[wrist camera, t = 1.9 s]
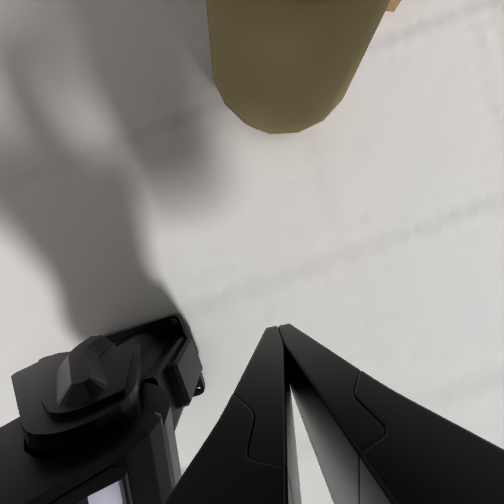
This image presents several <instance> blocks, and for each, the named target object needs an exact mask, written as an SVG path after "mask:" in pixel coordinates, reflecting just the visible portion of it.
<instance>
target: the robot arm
mask: <svg viewBox="0 0 504 504" xmlns="http://www.w3.org/2000/svg"><path fill="white" fill-rule="evenodd" d="M172 319H176V321H177V323H173V322H172ZM202 369H203V368H202V365H201V362H200V359H199V356H198V353H197V351H196V348H195V345H194V342H193V340H192V339H191V338H190V337H188V336H187V333H186V330H185V327H184V325H183V322H182V319H181V317H180V316H179V315H178V314H171V315H168V316H164V317H161V318H158V319H155V320H152V321H149V322H146V323H142V324H139V325H136V326H133V327H130V328H127V329H124V330H120V331H117V332H114V333H111V334H108V335H105V336H102V335H100V336H91V337H89V338H88V339H86V340H85V341H84V342H82V343H81V344H79V345H78V346H76V347H75V348H74V349H73V350H72V351H71V352H64V353H57V354H54V355H51V356H47V357H44V358H42V359H40V360H39V361H38V362H37V363H35V364H33V365H31V366H29V367H27V368H25V369H23V370H20V371H18V372H16V373H15V374H13V375H12V376H11V378H12V383H13V387H14V392H15V396H16V401H17V406H18V410H19V415H20V417H19V418H17V419H15V420H13V421H11V422H10V423H8V424H6V425H4V426H2V427H0V504H301V493H300V483H299V472H298V461H297V451H296V440H295V429H294V419H293V408H292V397H291V390H292V393H293V396H294V399H295V401H296V404H297V407H298V409H299V412H300V415H301V417H302V420H303V423H304V425H305V428H306V431H307V433H308V436H309V439H310V441H311V444H312V447H313V449H314V452H315V455H316V457H317V460H318V463H319V465H320V468H321V471H322V473H323V476H324V478H325V481H326V484H327V486H328V489H329V492H330V494H331V497H332V500H333V502H334V504H504V449H502V448H500V447H498V446H496V445H494V444H492V443H490V442H489V441H487V440H485V439H483V438H481V437H479V436H477V435H475V434H474V433H472V432H470V431H468V430H466V429H464V428H462V427H460V426H458V425H457V424H455V423H453V422H451V421H449V420H447V419H445V418H443V417H442V416H440V415H438V414H436V413H434V412H432V411H430V410H428V409H427V408H425V407H423V406H421V405H419V404H417V403H415V402H413V401H411V400H410V399H408V398H406V397H404V396H403V395H401V394H399V393H397V392H395V391H394V390H392V389H390V388H388V387H387V386H385V385H383V384H382V383H380V382H379V381H377V380H375V379H374V378H372V377H371V376H369V375H368V374H366V373H365V372H363V371H360V370H359V369H358V368H356V367H355V366H353V365H352V364H350V363H349V362H347V361H346V360H344V359H342V358H341V357H339V356H338V355H336V354H335V353H333V352H332V351H330V350H329V349H327V348H326V347H324V346H323V345H321V344H320V343H318V342H317V341H315V340H314V339H312V338H311V337H309V336H308V335H306V334H304V333H303V332H301V331H300V330H298V329H297V328H295V327H294V326H292V325H291V324H285V325H280V326H279V327H277V326H274V327H269V328H266V329H265V331H264V333H263V335H262V337H261V339H260V341H259V343H258V345H257V347H256V349H255V351H254V353H253V355H252V357H251V359H250V361H249V363H248V365H247V367H246V369H245V371H244V373H243V375H242V377H241V379H240V381H239V383H238V385H237V387H236V389H235V391H234V393H233V395H232V396H231V398H230V400H229V402H228V404H227V406H226V408H225V409H224V411H223V413H222V415H221V417H220V419H219V420H218V422H217V424H216V425H215V427H214V428H213V430H212V431H211V433H210V435H209V436H208V438H207V439H206V441H205V442H204V444H203V445H202V447H201V448H200V450H199V451H198V453H197V454H196V456H195V457H194V459H193V460H192V462H191V463H190V465H189V466H188V468H187V469H186V471H185V472H184V474H183V475H182V476H181V470H180V463H179V457H178V451H177V444H176V438H175V432H174V431H175V429H176V426H177V424H178V421H179V419H180V416H181V413H182V411H183V408H184V407H185V406H188V405H189V404H190V402H191V400H192V397H194V396H197V395H200V394H202V393H203V392H204V389H205V382H204V380H203V377H202V374H201V371H202ZM196 386H200V387H201V388H200V389H198V388H196ZM290 387H291V389H290Z"/></svg>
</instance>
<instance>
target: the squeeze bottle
mask: <svg viewBox="0 0 504 504" xmlns="http://www.w3.org/2000/svg"><path fill="white" fill-rule="evenodd" d="M389 2H390V0H206V3H207V14H208V25H209V36H210V47H211V58H212V70H213V78H214V81H215V83H216V85H217V87H218V89H219V92H220V94H221V96H222V98H223V101H224V103H225V105H226V106H227V107H229V108H230V109H231V110H232V111H233V112H234V113H235V114H236V115H237V116H238V117H239V118H240V119H241V120H242V121H243V122H244V123H245V124H247V125H249V126H252V127H254V128H256V129H259V130H261V131H264V132H267V133H269V134H280V133H295V132H300V131H302V130H304V129H306V128H308V127H310V126H312V125H315V124H317V123H319V122H321V121H323V120H324V119H325V118H326V117H327V116H328V115H329V114H330V112H331V111H332V110H333V109H334V108H335V107H336V106H337V105H338V104H339V103H340V101H341V100H342V99H343V97H344V95H345V93H346V91H347V89H348V87H349V85H350V83H351V81H352V79H353V77H354V75H355V72H356V70H357V68H358V66H359V64H360V62H361V60H362V58H363V56H364V54H365V52H366V50H367V48H368V46H369V43H370V41H371V39H372V37H373V35H374V33H375V31H376V29H377V27H378V25H379V23H380V21H381V19H382V17H383V14H384V12H385V10H386V8H387V6H388V4H389Z"/></svg>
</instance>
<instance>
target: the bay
mask: <svg viewBox="0 0 504 504" xmlns="http://www.w3.org/2000/svg"><path fill="white" fill-rule="evenodd" d="M400 1H401V0H390V2H389V4H388V6H387V8H386V11H393V12H394V10H395V9H396V7H397V6H398V4H399V3H400Z"/></svg>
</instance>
